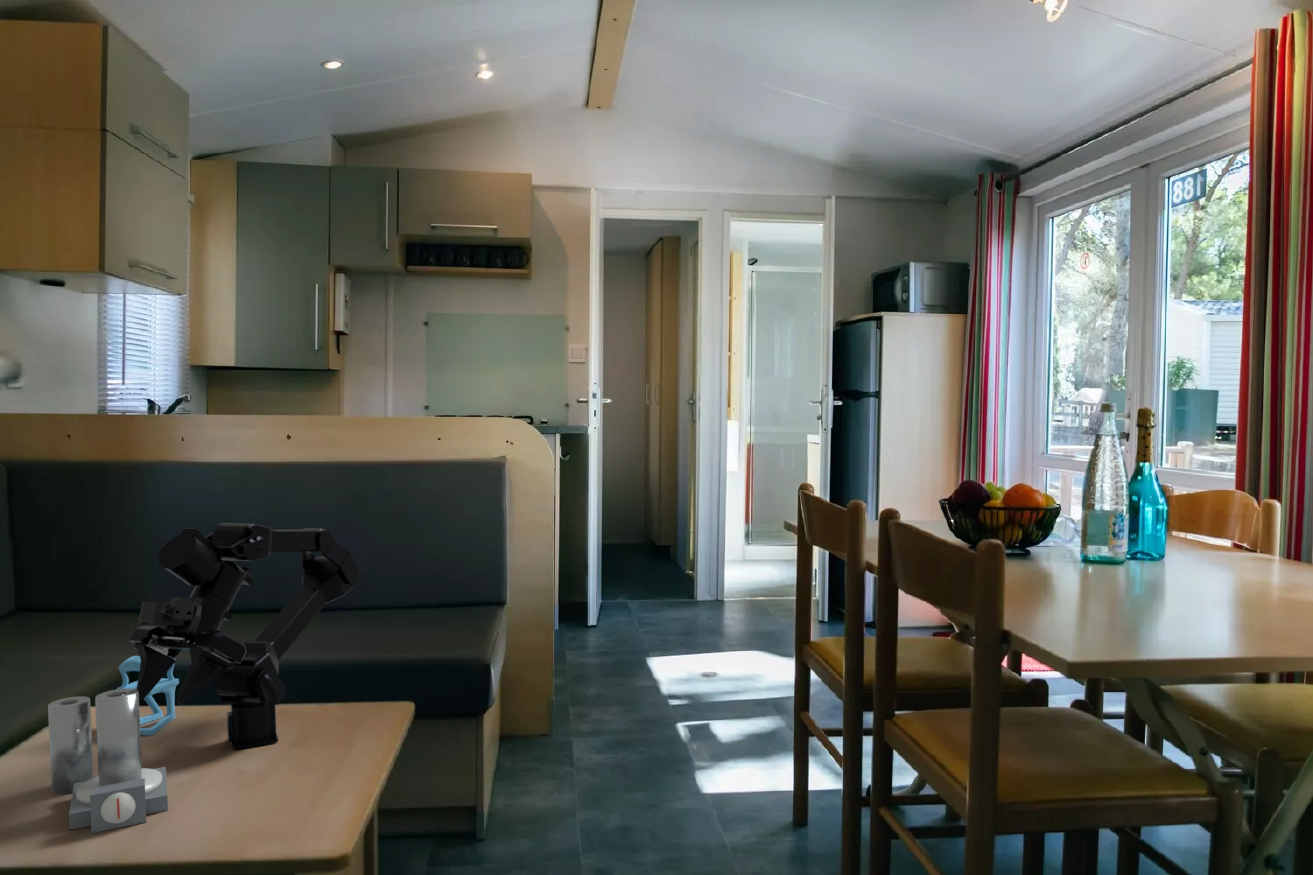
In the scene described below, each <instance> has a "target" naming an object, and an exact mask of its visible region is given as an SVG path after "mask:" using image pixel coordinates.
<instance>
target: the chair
mask: <svg viewBox="0 0 1313 875" xmlns="http://www.w3.org/2000/svg"><path fill="white" fill-rule="evenodd" d="M173 659H174V660H176V658H173ZM176 661H177V660H176ZM140 662H141V659H140V656H139V655H132V656H130V657H129V658H127V659H125V660H124V661H123V662H122V663H121V664H120V665H119V666H118V670H119V673H120V674H121V677H122V684H121V686H118V687H116V689H127V688H130V689H137V683H138V679H137V680H136V681H133V682H131V683H129V682H130V681H129V680H130V679H129V677H128V676H129V675H128V674H127V673H128V672H139V671H140ZM175 663H176V662H175ZM175 663H174V664H173V666H172V667H171V668H170V669H169V670H168V671H167V673H166V677H167V678H163V677H162V679H161V680H160V681H159V682H158V683H157V684H156V686H155V687H154V688H153V689H152V690H151V692H150V693H149V694H148V695H147V696H146V697H145V698H144V699H143V700H144V701H145V702H146V704H147V705H148V706H149V708H150V710H151V711H152V712H153V713H151V714H148V715H145V716H141V717H140V725H142V724H147V723H149V722H154V721H156V720H158V722H156V723H155V724H154V725H153V726H151V727H149V728H146V727H140V736H147V737H149V736H153V735H156V733H158V732H159V731H161V730H162V729H164V727H166V725H168V724H169V723H170V722H172V721H173V720H175V719H176V709H175V702H176V700H175V699H176V698H175V697H176V696H175V691H176V687H177V685H179V684H180V678H175V677H174V675H173V672H174V667H175ZM160 693H164V694H165V700H166V715H165V716H164V715H163V711H162V709H161V708H160V707H159V706H160V705H159V704H158V703H157V702H156V701H155V698H154V697H153V695H155V694H160Z"/></svg>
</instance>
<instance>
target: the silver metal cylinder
mask: <svg viewBox="0 0 1313 875" xmlns="http://www.w3.org/2000/svg"><path fill="white" fill-rule="evenodd" d="M94 704H95V721H96V722H95V723H96V724H95V725H96V745H97V746H96V748H97V765H98V766H97V769H98V776H99V787H100V786H106V785H111V784H117V783H122V782H128V781H133V780H138V779H142V768H143V767H142V743H141V740H142V739H141V735H140V728H141V724H140V718H141V717H140V699H139V693H138V690H137V689H130V688H127V689H117V688H116V689H112V690H111V689H110V690H107V691H104V692H101V693H99V694H97V695H96V696H95V703H94Z"/></svg>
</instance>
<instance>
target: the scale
mask: <svg viewBox="0 0 1313 875" xmlns="http://www.w3.org/2000/svg"><path fill="white" fill-rule="evenodd" d="M167 784H168V782H167V768H166V766H162V767H157V768H143V767H142V779H138V780H133V781H128V782H122V783H117V784H111V785H106V786H100V787H99V775H98V776H96V777H94V778H93V779H90V780H88V781H84V782H78V783H74V789H73V793H71V794H72V796H71V802H70V807H69V811H68V823H69V824H68V825H69V826H68V827H69V830H70V829H72V830H76V829H81V828H86V827H91V830H90V831H91V834H95V833H100V832H103V831H109V830H113V829H119V828H123V827H128V826H134V825H139V824H143V823H147V815H151V814H156V813H162V812H166V811H168V810H169V807H168V806H169V805H168V802H169V801H168V785H167Z"/></svg>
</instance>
